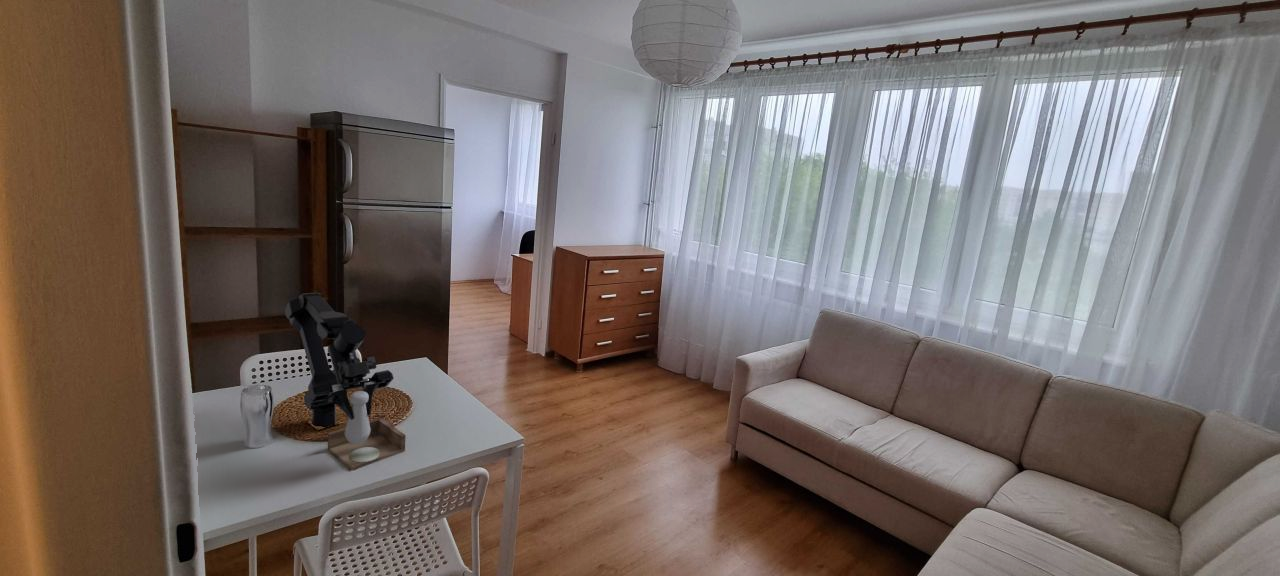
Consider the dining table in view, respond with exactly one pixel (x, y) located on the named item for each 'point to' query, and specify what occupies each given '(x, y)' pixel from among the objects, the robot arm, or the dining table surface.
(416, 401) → the dining table surface
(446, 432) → the dining table surface
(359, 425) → the salt shaker
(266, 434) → the beer glass
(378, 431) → the corner tray
